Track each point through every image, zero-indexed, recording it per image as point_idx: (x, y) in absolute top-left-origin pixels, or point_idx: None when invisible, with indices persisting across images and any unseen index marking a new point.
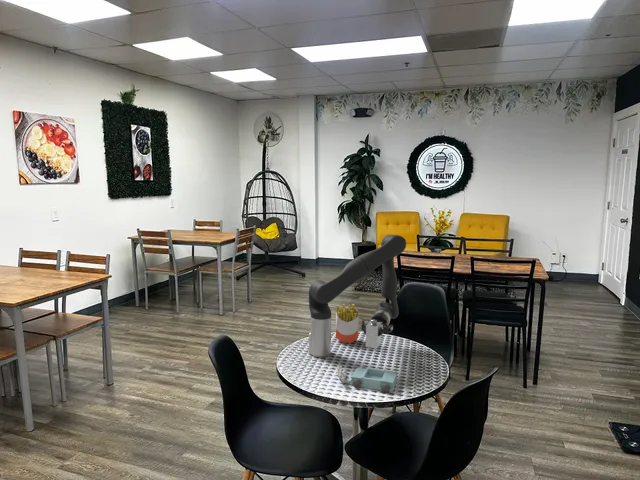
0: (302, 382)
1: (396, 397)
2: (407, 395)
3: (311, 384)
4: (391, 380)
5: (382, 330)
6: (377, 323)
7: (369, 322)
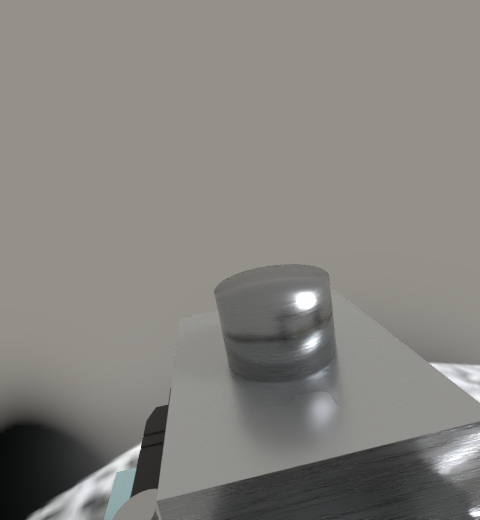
0: (476, 383)
1: (113, 475)
2: (59, 516)
3: None
4: (123, 486)
5: (138, 467)
6: (228, 393)
7: (395, 353)
